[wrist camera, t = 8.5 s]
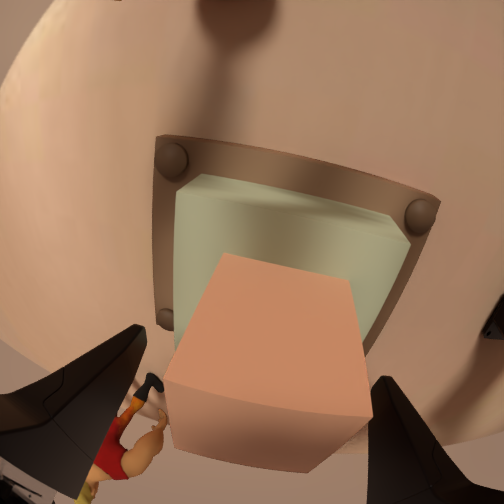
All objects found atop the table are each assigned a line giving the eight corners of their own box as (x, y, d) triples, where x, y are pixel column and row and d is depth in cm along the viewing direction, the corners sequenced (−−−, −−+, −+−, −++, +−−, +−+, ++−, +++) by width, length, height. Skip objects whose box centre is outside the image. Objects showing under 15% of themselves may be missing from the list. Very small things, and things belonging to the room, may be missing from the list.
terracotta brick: (348, 280, 11) (373, 416, 5) (312, 361, 13) (307, 473, 8) (223, 252, 11) (162, 378, 6) (212, 340, 13) (174, 448, 8)
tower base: (432, 195, 12) (470, 225, 9) (357, 356, 18) (362, 403, 14) (164, 134, 13) (121, 146, 9) (161, 315, 19) (138, 356, 15)
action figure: (103, 369, 25) (41, 481, 12) (95, 348, 23) (20, 468, 10) (186, 398, 24) (138, 533, 11) (184, 379, 22) (126, 532, 9)
